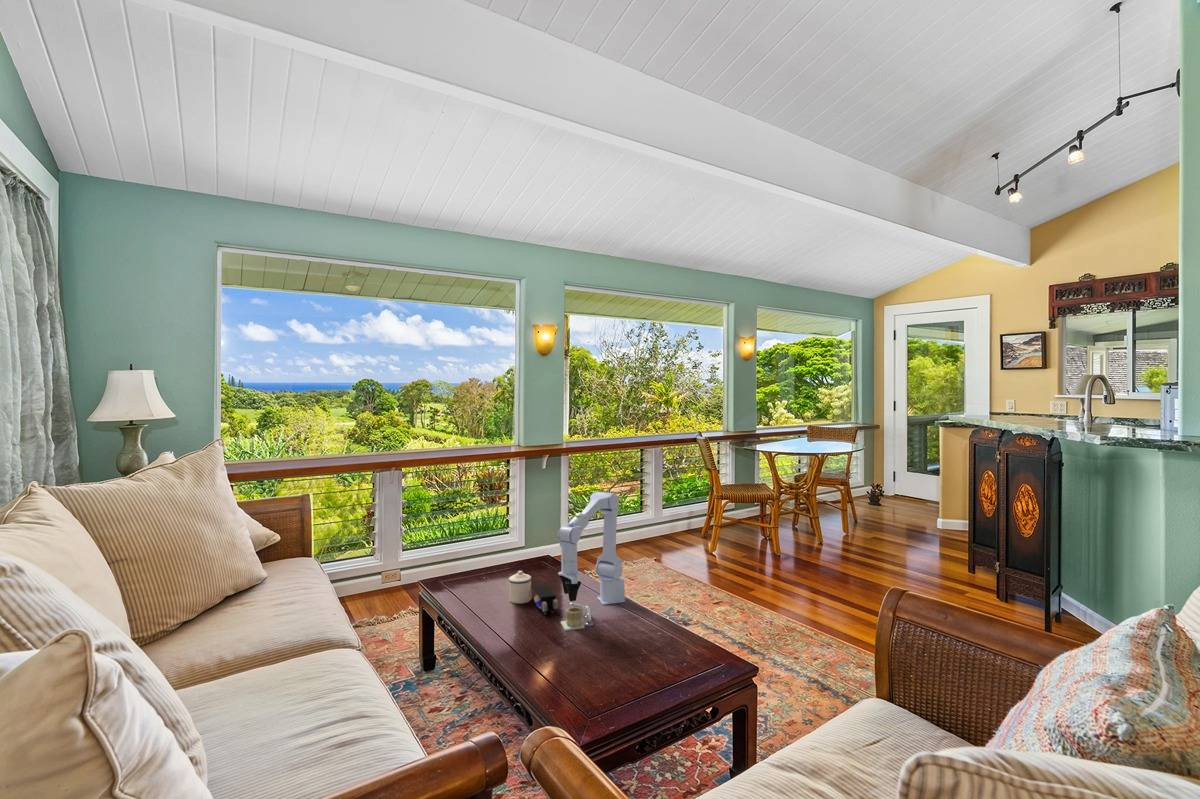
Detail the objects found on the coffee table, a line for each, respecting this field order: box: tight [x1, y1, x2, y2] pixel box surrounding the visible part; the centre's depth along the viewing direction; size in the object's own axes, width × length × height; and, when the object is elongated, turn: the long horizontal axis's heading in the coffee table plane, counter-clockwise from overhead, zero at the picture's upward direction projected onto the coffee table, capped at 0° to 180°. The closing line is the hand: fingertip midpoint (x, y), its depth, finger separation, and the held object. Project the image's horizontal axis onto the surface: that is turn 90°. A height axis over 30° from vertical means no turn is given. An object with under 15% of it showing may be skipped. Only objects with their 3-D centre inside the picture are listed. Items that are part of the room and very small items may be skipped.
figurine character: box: [531, 584, 559, 616], centre depth 213 cm, size 7×8×15 cm
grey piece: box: [569, 601, 595, 627], centre depth 204 cm, size 8×15×4 cm, turn 17°
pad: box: [560, 620, 585, 632], centre depth 198 cm, size 7×7×1 cm
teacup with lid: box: [508, 570, 532, 605], centre depth 224 cm, size 12×9×12 cm
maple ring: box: [565, 606, 583, 627], centre depth 198 cm, size 6×6×5 cm
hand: (569, 597), depth 199 cm, fingers open, 7 cm apart
